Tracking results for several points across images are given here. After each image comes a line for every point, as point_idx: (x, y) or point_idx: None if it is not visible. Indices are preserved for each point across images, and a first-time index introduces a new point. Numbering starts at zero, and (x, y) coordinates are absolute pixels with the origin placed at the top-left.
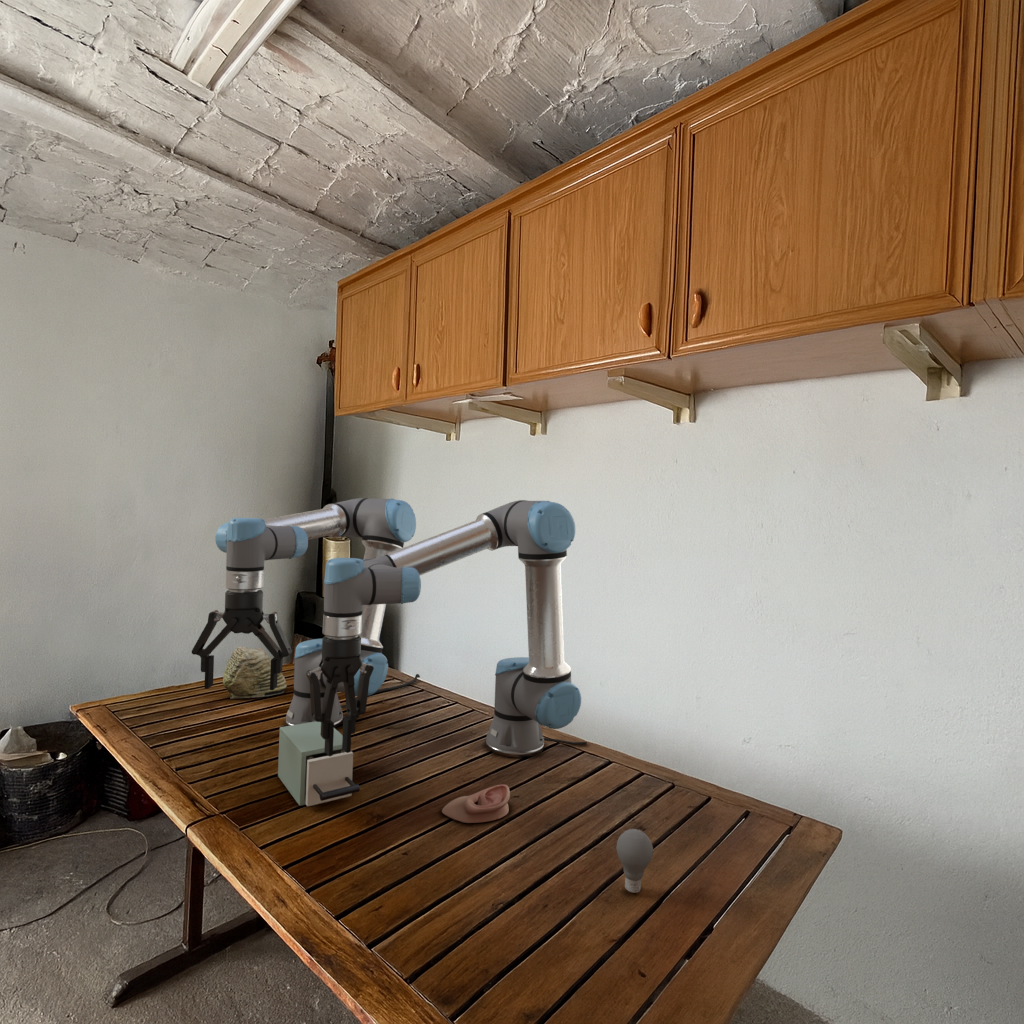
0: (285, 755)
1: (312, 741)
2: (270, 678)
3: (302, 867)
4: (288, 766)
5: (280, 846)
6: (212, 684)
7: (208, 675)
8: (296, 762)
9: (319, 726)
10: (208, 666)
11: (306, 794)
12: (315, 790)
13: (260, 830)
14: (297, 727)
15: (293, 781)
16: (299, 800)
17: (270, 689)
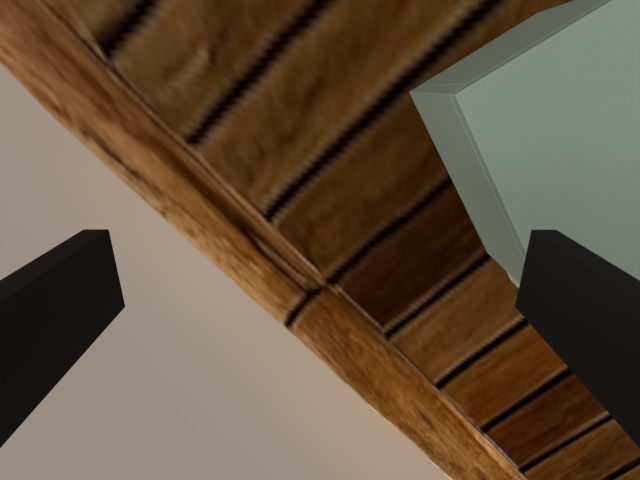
0: (464, 164)
1: (591, 237)
2: (560, 355)
3: (510, 429)
4: (470, 188)
5: (469, 383)
6: (107, 244)
7: (72, 362)
8: (515, 263)
9: (625, 75)
10: (17, 424)
11: (518, 284)
12: None
13: (424, 339)
14: (530, 93)
15: (481, 223)
16: (491, 256)
17: (520, 307)
